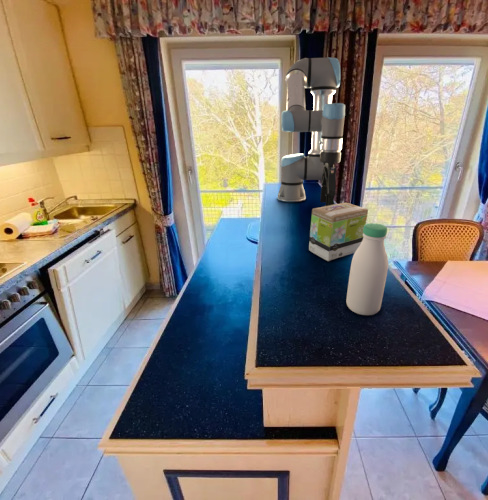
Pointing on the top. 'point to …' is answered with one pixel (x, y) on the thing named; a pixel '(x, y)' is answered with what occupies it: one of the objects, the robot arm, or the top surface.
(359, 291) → the milk bottle
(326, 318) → the top surface
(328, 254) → the tea box
